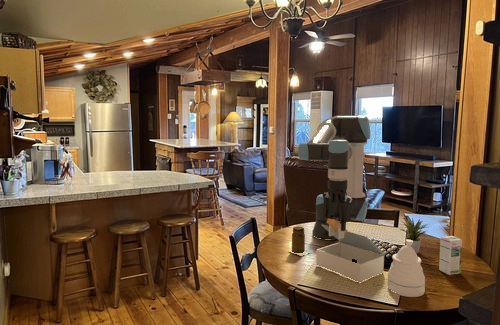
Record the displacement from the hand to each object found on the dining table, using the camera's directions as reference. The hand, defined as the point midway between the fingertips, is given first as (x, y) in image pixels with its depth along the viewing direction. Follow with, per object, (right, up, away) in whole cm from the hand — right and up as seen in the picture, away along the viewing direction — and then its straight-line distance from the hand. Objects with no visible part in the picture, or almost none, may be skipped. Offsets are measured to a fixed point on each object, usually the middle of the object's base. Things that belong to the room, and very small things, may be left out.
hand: (336, 236), depth 148 cm
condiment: (-11, -13, +27) cm, 32 cm away
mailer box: (+7, -15, +7) cm, 18 cm away
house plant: (+43, -13, +28) cm, 53 cm away
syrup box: (+48, -16, +5) cm, 51 cm away
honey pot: (+23, -17, -10) cm, 31 cm away
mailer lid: (+5, -1, +4) cm, 6 cm away
